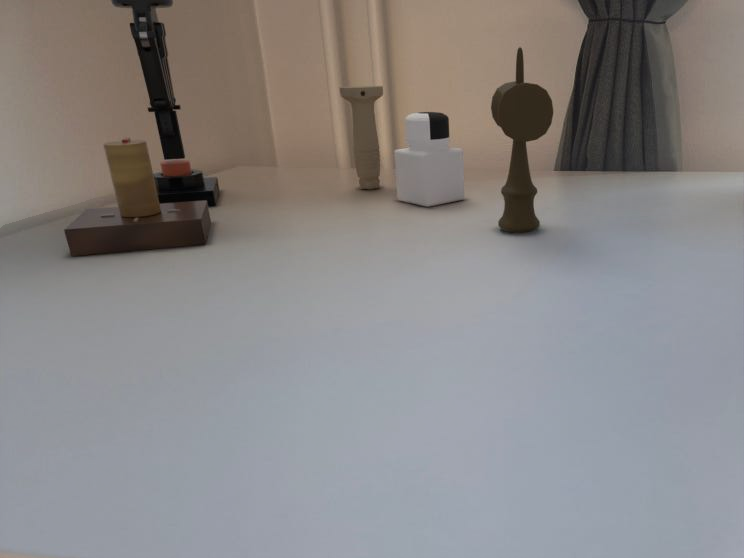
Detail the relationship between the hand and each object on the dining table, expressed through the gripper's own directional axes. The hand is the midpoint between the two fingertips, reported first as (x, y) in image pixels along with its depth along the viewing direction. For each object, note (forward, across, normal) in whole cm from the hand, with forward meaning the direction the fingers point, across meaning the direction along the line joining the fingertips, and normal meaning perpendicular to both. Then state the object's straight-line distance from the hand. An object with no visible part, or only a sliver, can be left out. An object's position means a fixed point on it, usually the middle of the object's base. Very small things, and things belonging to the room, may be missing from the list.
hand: (174, 158), depth 99 cm
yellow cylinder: (+3, -23, +2) cm, 23 cm away
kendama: (+7, -35, -41) cm, 54 cm away
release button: (+3, 0, 0) cm, 3 cm away
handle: (+6, -1, -28) cm, 29 cm away
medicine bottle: (+7, -14, -35) cm, 38 cm away
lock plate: (+6, -23, +2) cm, 24 cm away
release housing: (+6, 0, 0) cm, 6 cm away
